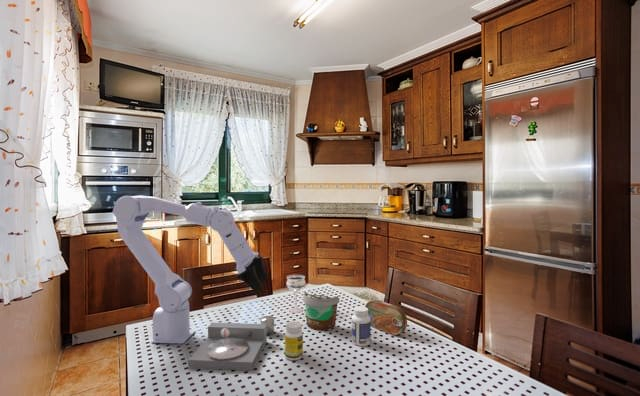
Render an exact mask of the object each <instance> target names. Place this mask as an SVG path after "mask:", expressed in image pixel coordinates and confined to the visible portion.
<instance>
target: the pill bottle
mask: <svg viewBox="0 0 640 396" xmlns="http://www.w3.org/2000/svg"><path fill="white" fill-rule="evenodd" d="M353 313H354V314H353V315H352V316H351V343H352V344H354V345H355V346H358V347H366V346H368V345H370V344H371V328H372V326H371V319H370V317H369V316H368V308H366V307H365V306H356V307H354V309H353Z"/></svg>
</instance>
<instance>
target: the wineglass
mask: <svg viewBox="0 0 640 396" xmlns="http://www.w3.org/2000/svg"><path fill="white" fill-rule="evenodd" d="M305 278H306V276H305V275H304V274H290V275H287V276H286V279H287V280H286V287H287V288H288V289H289V290H290V292H293V293H294V304H295V306H294V307H290V308H289V310H288V311H289V312H291V313H293V314H294V313H295V314H296V313H302V312H303V310H304V309H303V308H301V307H297V306H298V305H297V303H298V302H297V301H298V299H297V298H298V293H299V292H300V291H302V290H303V289H304V288H305V286H306V280H305Z"/></svg>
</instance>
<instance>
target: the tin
mask: <svg viewBox="0 0 640 396" xmlns="http://www.w3.org/2000/svg"><path fill="white" fill-rule="evenodd" d="M364 307H366V308H368V316H369V317H370V319H371V328H374V329H376V330H379V331H381V332H384V333H386V334H388V335H391V336H399V335H400V334H402V333H403V332H405V331H406V330H407V327H408V317H407V315H406V312H405V311H404V310H403V309H402V307H400V306H397V305H395V304H393V303H392V304H391V303H387V302H385V301H381V300H378V299H376V300H370V301H368V302H366V304H365V305H364Z"/></svg>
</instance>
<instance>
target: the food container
mask: <svg viewBox="0 0 640 396" xmlns="http://www.w3.org/2000/svg"><path fill="white" fill-rule="evenodd" d="M302 302H303V303H304V306H305V319H306V325H307V327H308V328H309V329H311V330H315V331H327V330H331V329H334V328H335V326H336V322H337V311H338V304H339V303H340V298H339V295H336V296H334V297H331V296H327V295H323V294H308V293H307V291H304V294H303V297H302Z"/></svg>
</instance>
